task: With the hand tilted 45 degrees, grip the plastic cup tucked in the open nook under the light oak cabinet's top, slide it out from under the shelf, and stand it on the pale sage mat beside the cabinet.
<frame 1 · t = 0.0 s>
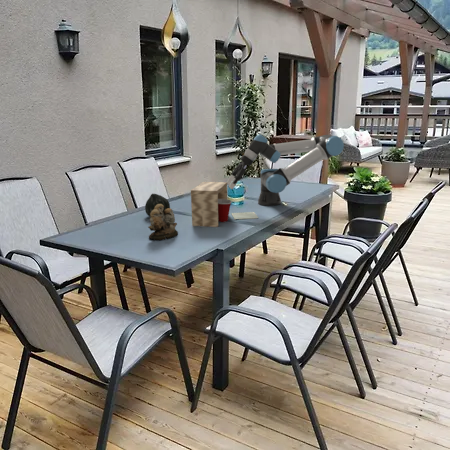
hand: (228, 186, 276), 15 cm above the table, tool tilted 35°, fingers open, 13 cm apart
mat: (244, 216, 265), on the table
plastic cup: (223, 221, 255), on the table
squash: (158, 216, 268), on the table
owl figurine: (163, 236, 228), on the table
oak cabinet: (210, 220, 257), on the table
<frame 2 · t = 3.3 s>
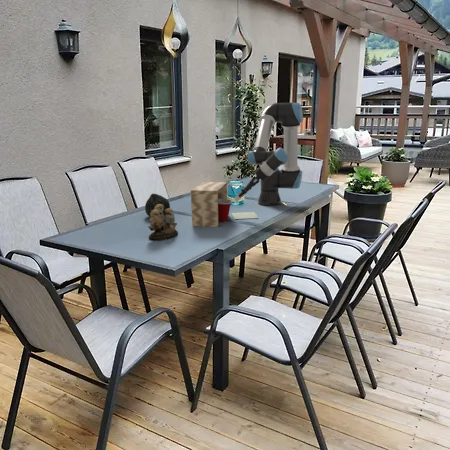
hand: (237, 197, 250), 14 cm above the table, tool tilted 45°, fingers open, 13 cm apart
nothing on the table moved.
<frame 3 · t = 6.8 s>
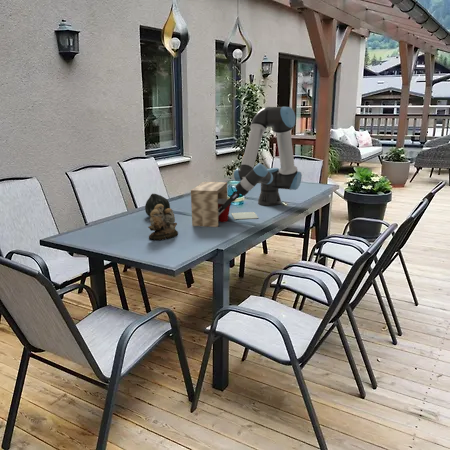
hand: (217, 213, 255), 4 cm above the table, tool tilted 45°, fingers closed on plastic cup, 10 cm apart
plastic cup: (223, 221, 255), on the table, touching gripper
everything else where it was.
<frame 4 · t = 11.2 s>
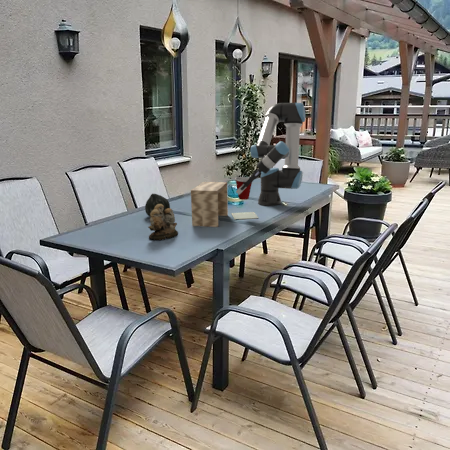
hand: (239, 191, 260), 15 cm above the table, tool tilted 45°, fingers closed on plastic cup, 10 cm apart
plastic cup: (244, 199, 261), point 11 cm above the table, touching gripper
everything else where it was.
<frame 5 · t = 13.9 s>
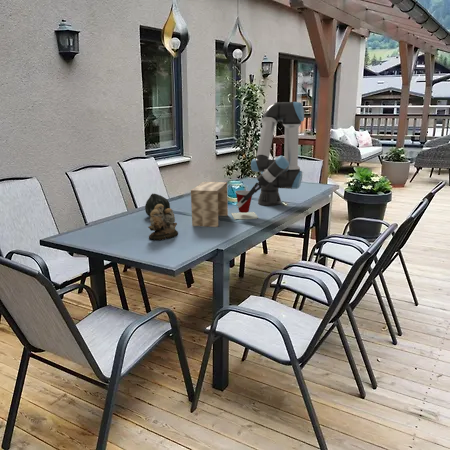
hand: (239, 204, 263), 7 cm above the table, tool tilted 45°, fingers closed on plastic cup, 10 cm apart
plastic cup: (244, 212, 264), point 3 cm above the table, touching gripper
everything else where it was.
when the fingers open (5 cm above the table, at t = 16.0 s): plastic cup stays where it is, resting on mat.
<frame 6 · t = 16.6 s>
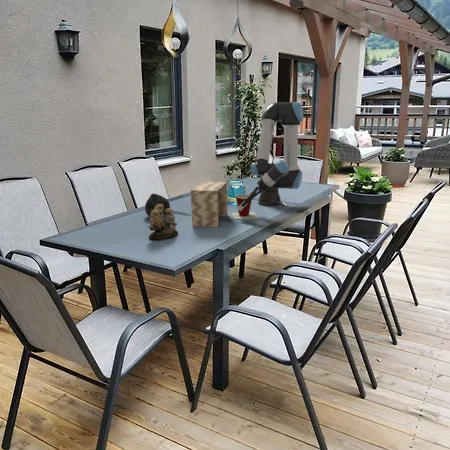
hand: (240, 206, 264), 6 cm above the table, tool tilted 45°, fingers open, 13 cm apart
plastic cup: (244, 215, 264), resting on mat
everything else where it was.
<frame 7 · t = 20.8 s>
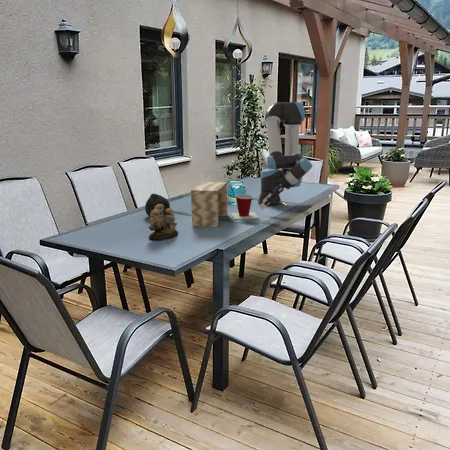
hand: (262, 205, 261), 7 cm above the table, tool tilted 45°, fingers open, 13 cm apart
nothing on the table moved.
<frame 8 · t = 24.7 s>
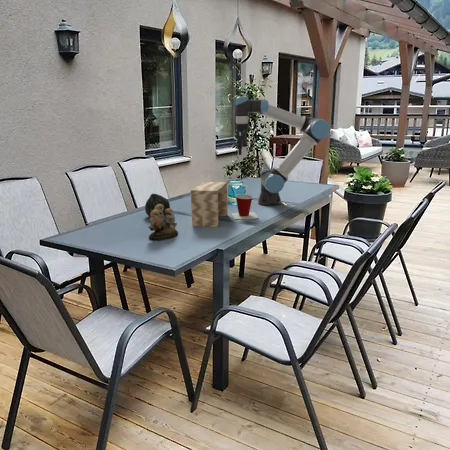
hand: (242, 158, 273), 32 cm above the table, tool pointing down, fingers open, 13 cm apart
nothing on the table moved.
at the end: plastic cup inside the target area on the mat (0.1 cm from its centre), point 0.3 cm above the mat's base; plastic cup tilted 0°; the gripper is holding nothing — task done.
